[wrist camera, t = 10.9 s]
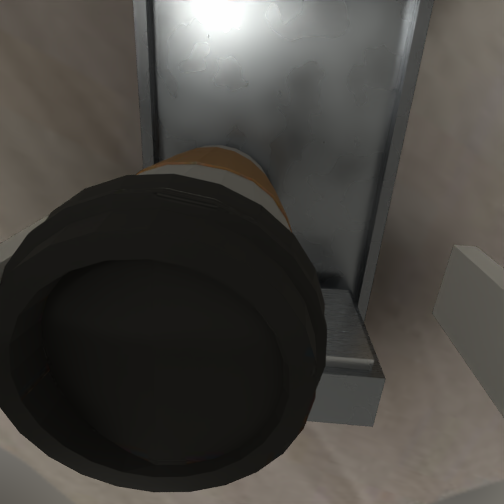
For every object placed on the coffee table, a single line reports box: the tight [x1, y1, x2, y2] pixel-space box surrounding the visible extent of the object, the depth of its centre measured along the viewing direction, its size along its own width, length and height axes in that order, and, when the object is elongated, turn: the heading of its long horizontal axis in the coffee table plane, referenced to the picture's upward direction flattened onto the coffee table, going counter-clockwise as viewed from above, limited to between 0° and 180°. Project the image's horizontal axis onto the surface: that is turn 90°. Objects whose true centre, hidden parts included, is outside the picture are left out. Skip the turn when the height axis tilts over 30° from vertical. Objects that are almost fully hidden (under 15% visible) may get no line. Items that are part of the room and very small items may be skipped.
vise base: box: [133, 0, 434, 427], centre depth 17 cm, size 26×14×10 cm, turn 177°
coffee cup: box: [0, 145, 327, 492], centre depth 15 cm, size 8×8×15 cm
